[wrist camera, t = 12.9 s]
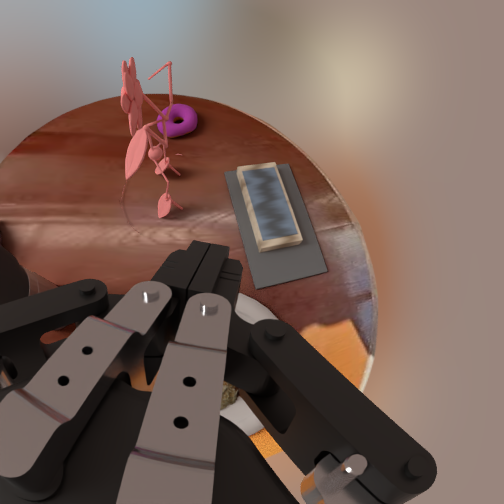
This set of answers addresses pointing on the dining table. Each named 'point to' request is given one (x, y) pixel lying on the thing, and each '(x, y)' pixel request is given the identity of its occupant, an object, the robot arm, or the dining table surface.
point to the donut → (177, 114)
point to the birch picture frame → (268, 207)
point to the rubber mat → (283, 259)
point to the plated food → (231, 399)
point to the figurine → (145, 131)
